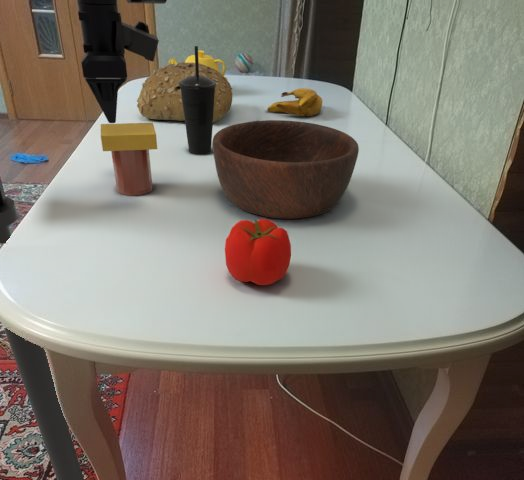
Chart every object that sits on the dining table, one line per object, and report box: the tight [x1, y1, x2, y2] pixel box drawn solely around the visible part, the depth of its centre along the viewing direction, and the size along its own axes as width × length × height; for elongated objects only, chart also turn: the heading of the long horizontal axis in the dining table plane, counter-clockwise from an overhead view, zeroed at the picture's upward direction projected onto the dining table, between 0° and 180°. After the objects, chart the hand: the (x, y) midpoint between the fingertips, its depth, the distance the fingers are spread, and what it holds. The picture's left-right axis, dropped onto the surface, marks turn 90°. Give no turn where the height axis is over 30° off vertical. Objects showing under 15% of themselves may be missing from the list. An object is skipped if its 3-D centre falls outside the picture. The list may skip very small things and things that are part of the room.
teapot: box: [167, 50, 229, 82], centre depth 151 cm, size 14×14×11 cm
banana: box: [267, 87, 323, 117], centre depth 139 cm, size 15×19×6 cm
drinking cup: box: [179, 45, 216, 156], centre depth 105 cm, size 8×8×20 cm
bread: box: [136, 61, 234, 123], centre depth 131 cm, size 24×21×12 cm
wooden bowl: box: [211, 119, 360, 220], centre depth 89 cm, size 25×25×10 cm
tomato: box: [224, 218, 292, 286], centre depth 68 cm, size 9×9×8 cm
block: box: [100, 122, 158, 152], centre depth 87 cm, size 9×7×2 cm
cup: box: [110, 150, 153, 196], centre depth 91 cm, size 6×6×8 cm
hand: (112, 115), depth 85 cm, fingers open, 9 cm apart
